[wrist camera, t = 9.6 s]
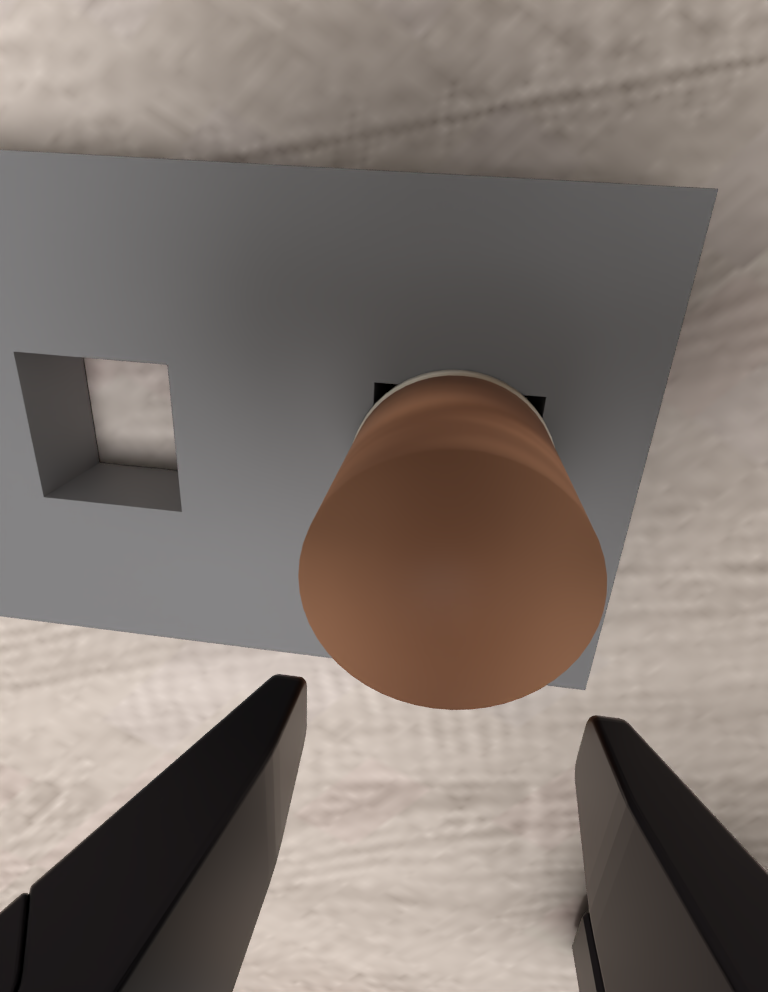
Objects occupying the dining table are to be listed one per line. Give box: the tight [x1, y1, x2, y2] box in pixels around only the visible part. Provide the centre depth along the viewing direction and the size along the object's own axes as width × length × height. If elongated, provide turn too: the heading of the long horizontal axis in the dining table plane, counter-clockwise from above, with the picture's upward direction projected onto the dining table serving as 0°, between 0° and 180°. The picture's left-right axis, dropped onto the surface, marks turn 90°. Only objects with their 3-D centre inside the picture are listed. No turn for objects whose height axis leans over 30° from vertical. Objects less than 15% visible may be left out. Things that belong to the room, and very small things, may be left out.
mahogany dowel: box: [298, 370, 607, 710], centre depth 14 cm, size 6×6×9 cm
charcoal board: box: [0, 150, 718, 690], centre depth 17 cm, size 20×14×3 cm
